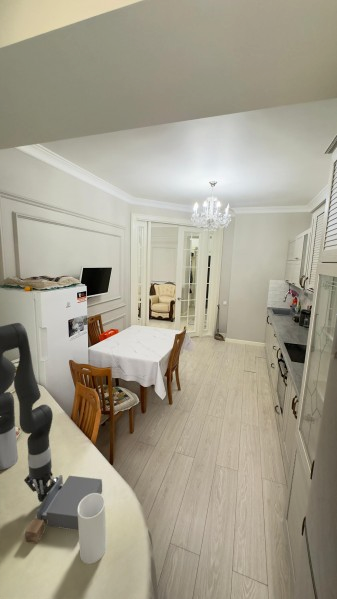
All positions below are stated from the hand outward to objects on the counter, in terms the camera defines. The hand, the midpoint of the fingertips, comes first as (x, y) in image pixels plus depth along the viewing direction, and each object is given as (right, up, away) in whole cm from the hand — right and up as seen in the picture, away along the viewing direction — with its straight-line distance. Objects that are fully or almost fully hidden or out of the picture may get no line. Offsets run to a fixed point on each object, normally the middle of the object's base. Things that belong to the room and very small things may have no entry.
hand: (42, 499), depth 93 cm
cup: (+24, -4, -15) cm, 28 cm away
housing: (+14, -2, -1) cm, 14 cm away
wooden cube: (+3, -3, -11) cm, 12 cm away
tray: (+10, -2, -1) cm, 10 cm away
